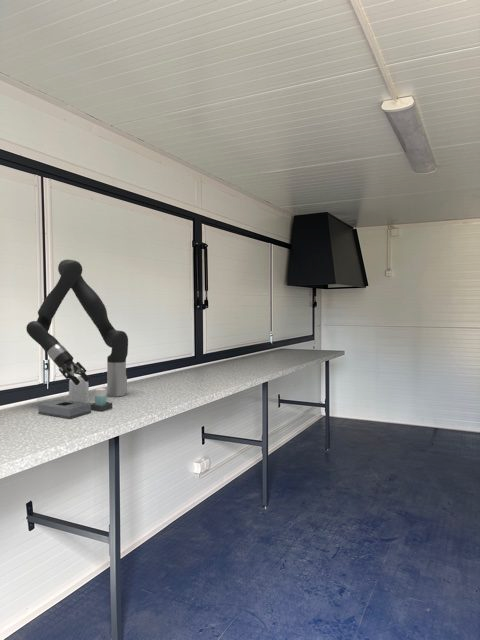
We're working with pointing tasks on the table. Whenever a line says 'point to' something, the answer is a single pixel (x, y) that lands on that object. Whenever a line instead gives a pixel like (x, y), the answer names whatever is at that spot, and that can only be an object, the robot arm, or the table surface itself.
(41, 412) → the block
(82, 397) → the photo printer
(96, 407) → the dark grey square frame
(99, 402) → the plug
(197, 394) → the table surface
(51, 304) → the robot arm
